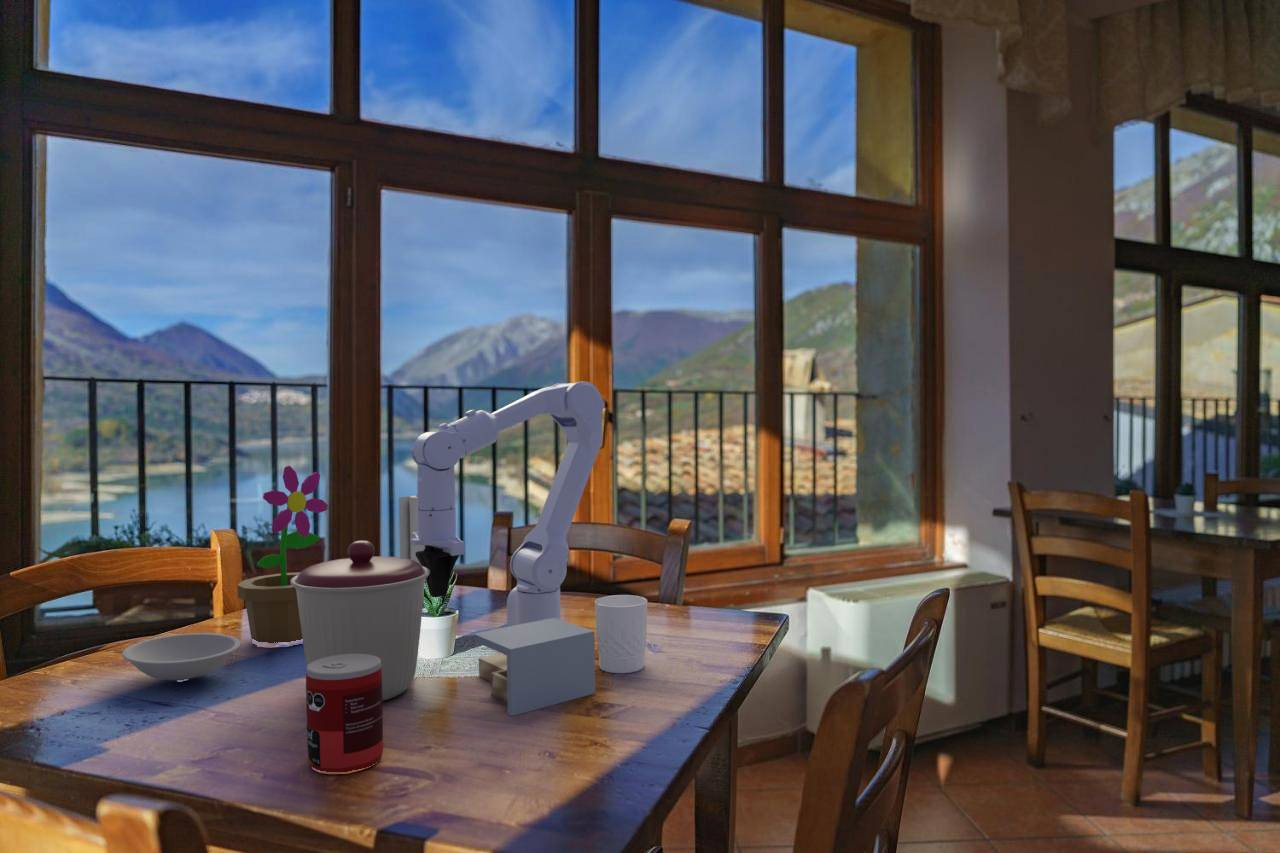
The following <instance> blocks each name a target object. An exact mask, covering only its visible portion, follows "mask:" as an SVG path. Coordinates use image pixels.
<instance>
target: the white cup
mask: <svg viewBox="0 0 1280 853" xmlns="http://www.w3.org/2000/svg"><path fill="white" fill-rule="evenodd" d="M594 611H595V613H594V614H595V628H596V629H595V630H596V639H597V640H596V641H597V642H596V643H597V650H598V664H599V665H598V666H599V668H600V669H601V670H602V671H604V672H607V673H610V674H611V673H612V674H630V673H636V672H639V671H641V670H643V668H644V667H645V664H646V646H647V639H646V638H647V630H648V629H647V628H648V626H647V624H648V621H647V620H648V598H646V597H643V596H639V595H631V594H617V595H615V594H614V595H606V596H601V597H599V598H597V599H595V600H594Z"/></svg>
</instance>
